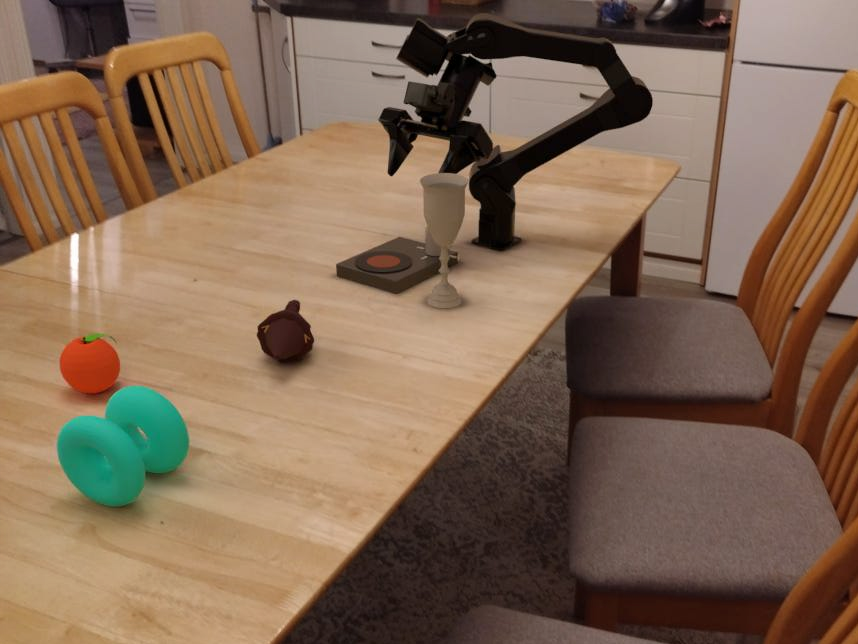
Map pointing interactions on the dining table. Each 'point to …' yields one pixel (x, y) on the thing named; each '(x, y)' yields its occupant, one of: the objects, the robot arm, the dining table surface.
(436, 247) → the hob knob
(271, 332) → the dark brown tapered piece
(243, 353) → the dining table surface
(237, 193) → the dining table surface
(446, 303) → the chalice
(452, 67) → the robot arm
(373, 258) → the burner
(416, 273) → the hob
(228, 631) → the dining table surface
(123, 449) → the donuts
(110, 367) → the clementine
